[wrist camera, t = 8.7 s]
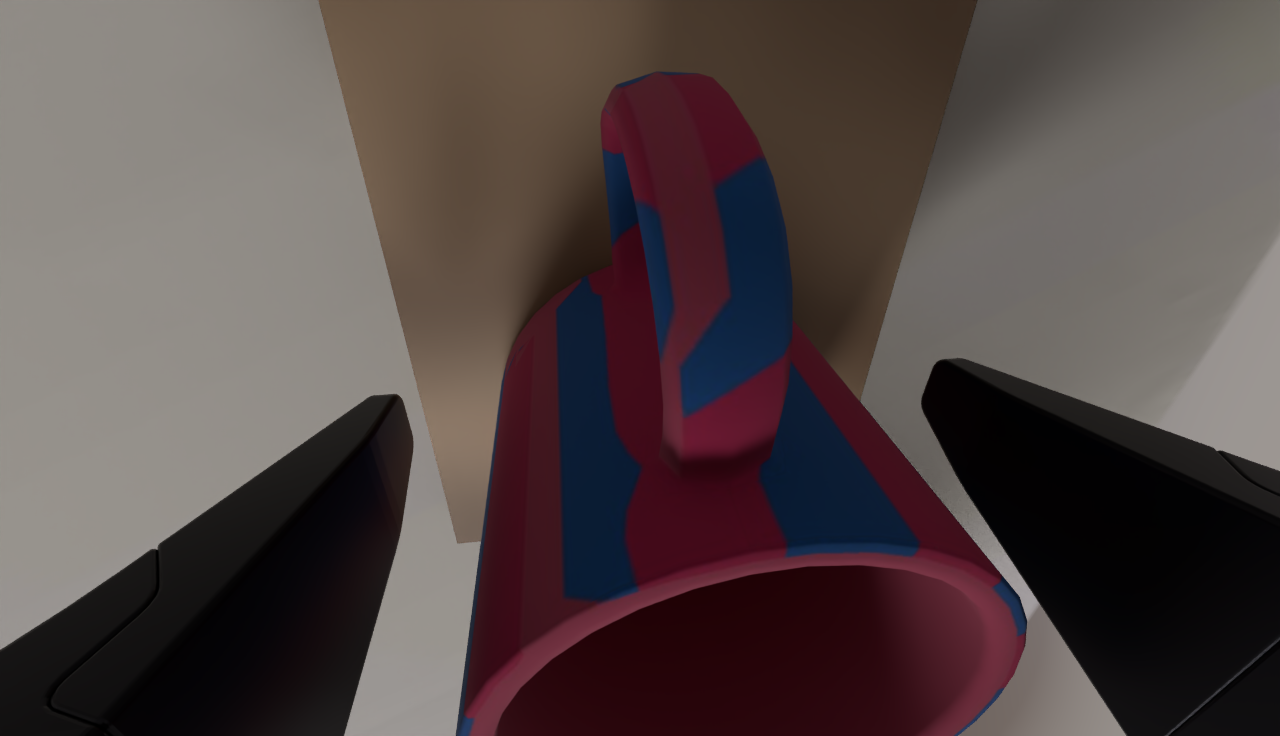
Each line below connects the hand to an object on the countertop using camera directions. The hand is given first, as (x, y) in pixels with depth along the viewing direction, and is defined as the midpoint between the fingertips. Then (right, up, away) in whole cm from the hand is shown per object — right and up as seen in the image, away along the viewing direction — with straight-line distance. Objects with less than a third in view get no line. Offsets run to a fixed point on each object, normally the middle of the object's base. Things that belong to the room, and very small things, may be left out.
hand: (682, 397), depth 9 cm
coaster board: (0, +2, +3) cm, 4 cm away
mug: (0, +1, +2) cm, 3 cm away
